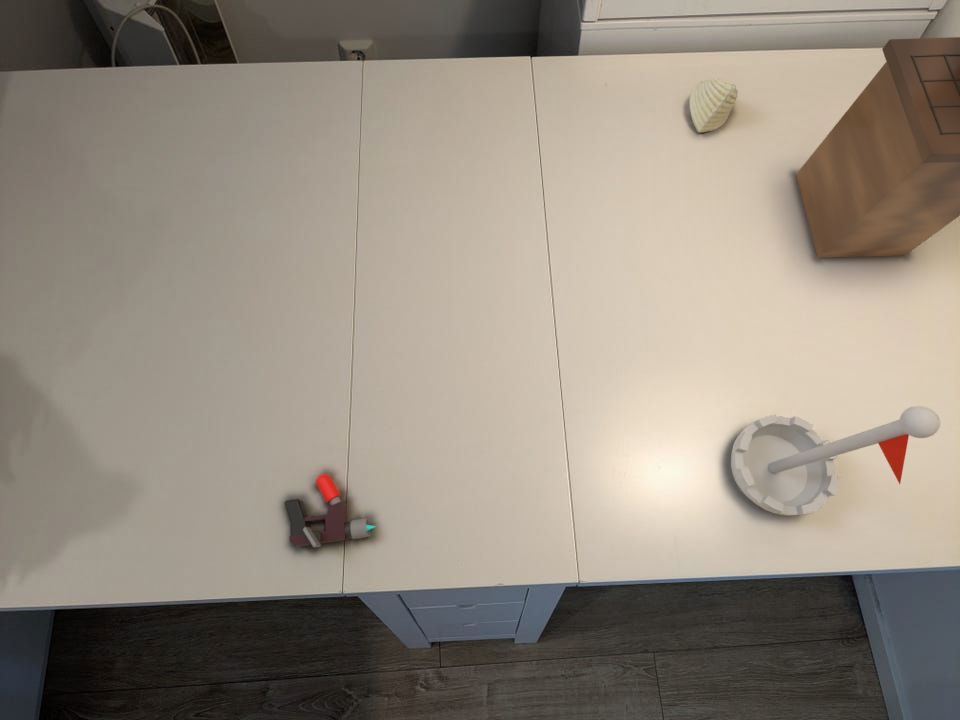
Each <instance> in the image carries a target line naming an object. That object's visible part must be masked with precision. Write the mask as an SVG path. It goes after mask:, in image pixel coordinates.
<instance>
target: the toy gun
mask: <svg viewBox="0 0 960 720" xmlns="http://www.w3.org/2000/svg"><path fill="white" fill-rule="evenodd" d="M315 485H316V486H317V489H318V490H319V492H320V493H321V495H322V497H323V499H324V501H325V503H326V504H329V505H328V506H327V514H321V515H316V516H315V515H314V516H309V517H308V514H307V511H306V508H305V504H304V502H303V500H302V499H298V498H294V499H287V500H285V501H284V507H285V510H286V513H287V517H288V520H289V523H290V524H289V525H290V535H289V542H290V543H291V544H292V545H293V546H294V547H306V546H312V548H317V549H318V548H319V547H321V546H322V544H326V543H336V542H343V541H348V540H349V539H352V540H358V539H363V538H369V537H370V536H371V530H372V529H375V528H376V527H377V526H376V525H371V524H370V519H369V518H368V517H364V518H358V519H352V520H351V521H348V520H349V518H348V502H347V501H345V500H342V499H341V498H340V497H341V493H340V491H339V489H338V487H337V486H336V484H335V483H334V481H333V479H332V477H331V476H330V474H327V473H321V474H319V476H317V477H316V479H315ZM321 521H324V523H325V530H323V531H317V530H316V531H313V529H312V528H311V523H314V522H321Z"/></svg>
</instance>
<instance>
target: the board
mask: <svg viewBox="0 0 960 720" xmlns="http://www.w3.org/2000/svg"><path fill="white" fill-rule="evenodd" d="M881 50H882V53H883V56H884V59H885V61H886V62H885V63H884V64H883V65H882V66H881V68H880V69H879V70H878V71H877V73H876V74H875V75H874V76H873V78H872V79H871V80H870V82H869V83H868V84H867V85H866V86H865V88H863V90H862V91H861V92H860V94H859V95H858V96H857V98H856V99H855V100H854V102H853V103H852V104H851V105H850V106H849V108H848V109H846V111H845V112H844V114H843V115H842V116H841V118H840V119H839V120H838V121H837V122H836V124H835V125H834V126H833V128H831V130H830V131H829V133H828V134H827V135H826V136H825V137H824V139H823V140H822V141H821V143H820V144H819V145H818V146H817V147H816V149H815V150H814V151H813V153H812V154H811V155H810V156H809V158H808V159H807V160H806V162H805V163H803V165H802V166H801V168H799V170H798V171H797V172H796V174H795V176H796V181H797V184H798V188H799V192H800V195H801V199H802V204H803V207H804V211H805V215H806V219H807V222H808V226H809V230H810V234H811V238H812V242H813V245H814V249H815V253H816V257H817V258H820V259H821V258H846V257H847V258H848V257H849V258H850V257H853V258H854V257H855V258H856V257H882V256H883V257H888V256H906V255H908V254H909V253H911V252H912V251H913V250H915V249H917V247H919V246H920V245H922V244H923V243H924V242H926V241H927V240H929V239H930V238H931V237H932V236H934V235H936V234H937V233H938V232H940V231H941V230H942V229H943V228H945V227H946V226H948V225H949V224H950V223H952V222H953V221H955V220H956V219H958V218H959V217H960V36H955V37H954V36H951V37H949V36H947V37H922V38H921V37H920V38H918V37H917V38H890V39H889V40H888V41H886V43H885V45H884V46H883V47H882V49H881Z"/></svg>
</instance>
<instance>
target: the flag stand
mask: <svg viewBox="0 0 960 720" xmlns="http://www.w3.org/2000/svg"><path fill="white" fill-rule="evenodd" d="M813 427H814V424H813V423H811V422H810V421H807V420H806V419H803V418H800V417H799V416H793V417H785V416H777V414H771V415H767V416H764V417H762V418H759V419H757V420H755V421H753V422H751V423H750V424H748V425H747V426H746V427H744V428H743V429H742V430H741V432H739V434H738V435H737V437H736V439H735V440H734V442H733V446H732V450H731V456H730V467H731V468H730V469H731V474H732V477H733V479H734V481H735V483H736V485H737V487H738V488H739V489H740V491H741V492H742V493H743V495H745V496H746V497H747V498H748V499H749V500H750V501H751V502H752V503H754V504H755V505H757V506H758V507H760V508H761V509H763V510H765V511H768V512H769V513H772V514H775V515H781V516H801V515H806V514H811V513H814V512H817V511H819V510H821V509H822V506H823V505H824V504H825V503H826V501H828V499H829V498H830V497H834V496H836V494H837V492H838V489H839V487H840V482H841V477H840V476H836V467H835V461H834V460H836V459H839V456H840V455H844V454H846V453H849V452H853V451H856V450H860V449H864V448H867V447H870V446H874V445H877V444H878V446H879V448H880V450H881V452H882V454H883V455H884V457H885V459H886V461H887V463H888V465H889V467H890V469H891V471H892V473H893V475H894V476H895V479H896V480H897V482H898V484H899V485H901V482H902V476H903V471H904V465H905V460H906V454H907V448H908V442H909V437H913V438H916V439H927V438H930V437H932V436H934V435H935V434H937V432H939V430H940V428H941V420H940V417H939V414H937V413H936V412H935V411H934V410H933V409H932V408H929V407H928V406H923V405H914V406H911V407H908V408H906V409H905V410H903V411H902V413H901V414H900V416H899V419H897V420H894V421H891V422H887V423H884V424H881V425H878V426H876V427H873V428H870V429H867V430H864V431H861V432H858V433H855V434H853V435H850V436H846V437H843V438H840V439H837V440H833V441H831V440H830V439H825V440H824V439H822V437H821V436H820V435H819V434H818V433H817V432H816V431H815V430H813Z"/></svg>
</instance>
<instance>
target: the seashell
mask: <svg viewBox="0 0 960 720" xmlns="http://www.w3.org/2000/svg"><path fill="white" fill-rule="evenodd" d="M738 94H739V93H738V89H737V86H736V85H735V84H734V83H732V82H729V81H726V80H721V79H718V78H709V79H706V80H703V81H702V80H701V81H700V82H698V83H697V84H695V85H694V86H693V88H692V90H691V92H690V95H689V101H688V102H689V104H688V105H689V113H690V117H691V120H692V123H693V125H694V127H695V130H696V132H697V133H706V132H712V131H716V130H717V129H718V128H721V127H722V125H723V124H725V123H726V121H727V119H728V118H729V115H730V113H731V111H732V109H733V107H734V106H735V105H736V102H737V98H738Z"/></svg>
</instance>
